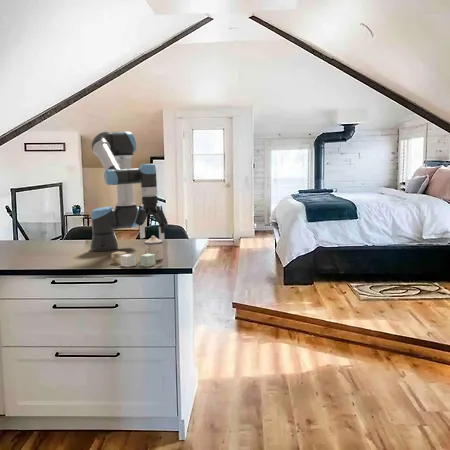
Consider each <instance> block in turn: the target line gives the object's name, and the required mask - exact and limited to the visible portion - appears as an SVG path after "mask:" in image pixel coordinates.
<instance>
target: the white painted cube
mask: <svg viewBox="0 0 450 450" xmlns="http://www.w3.org/2000/svg"><path fill="white" fill-rule="evenodd" d="M120 265H121V267H126V268H130V267H134V266H136V265H137V260H136V254H132V253H126V254H125V255H121V264H120Z"/></svg>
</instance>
